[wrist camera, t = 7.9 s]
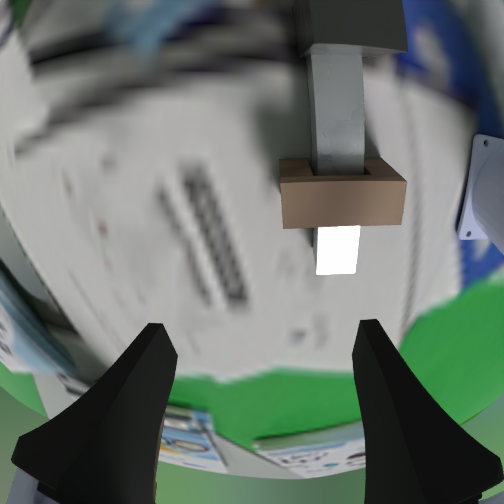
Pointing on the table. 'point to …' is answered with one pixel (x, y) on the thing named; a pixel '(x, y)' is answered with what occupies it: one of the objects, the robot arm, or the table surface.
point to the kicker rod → (342, 96)
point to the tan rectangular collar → (341, 196)
